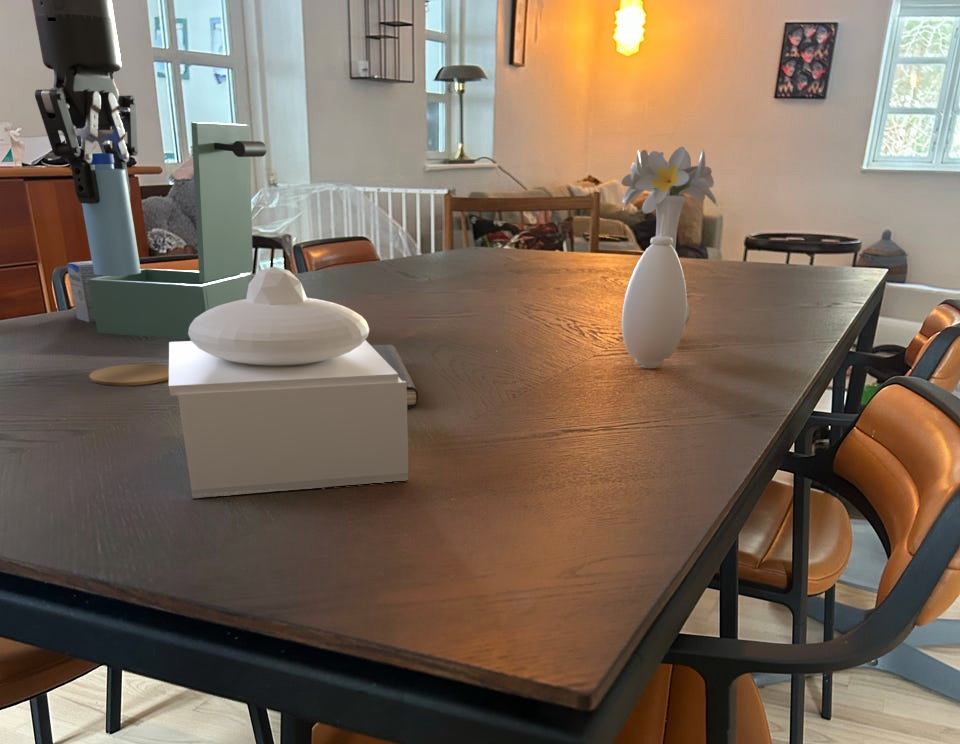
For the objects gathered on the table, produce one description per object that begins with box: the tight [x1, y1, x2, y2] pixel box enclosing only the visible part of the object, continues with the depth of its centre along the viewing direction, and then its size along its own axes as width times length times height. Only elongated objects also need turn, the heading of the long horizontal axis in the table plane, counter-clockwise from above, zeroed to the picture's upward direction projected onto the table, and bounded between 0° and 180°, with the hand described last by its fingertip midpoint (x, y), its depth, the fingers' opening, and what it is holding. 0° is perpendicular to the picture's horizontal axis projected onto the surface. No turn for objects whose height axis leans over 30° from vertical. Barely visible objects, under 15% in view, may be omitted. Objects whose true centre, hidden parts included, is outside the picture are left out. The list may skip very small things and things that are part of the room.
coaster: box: [88, 363, 169, 387], centre depth 109 cm, size 10×10×1 cm
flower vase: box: [621, 146, 719, 326], centre depth 130 cm, size 13×18×25 cm
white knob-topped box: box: [168, 266, 410, 495], centre depth 78 cm, size 18×18×16 cm
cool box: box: [88, 268, 252, 340], centre depth 131 cm, size 18×14×8 cm
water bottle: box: [81, 152, 141, 276], centre depth 100 cm, size 5×5×12 cm
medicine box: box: [66, 260, 104, 323], centre depth 138 cm, size 8×4×9 cm, turn 135°
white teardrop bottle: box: [621, 213, 688, 370], centre depth 113 cm, size 8×8×18 cm
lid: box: [190, 121, 268, 283], centre depth 122 cm, size 19×14×5 cm
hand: (105, 201), depth 100 cm, fingers closed on water bottle, 5 cm apart
